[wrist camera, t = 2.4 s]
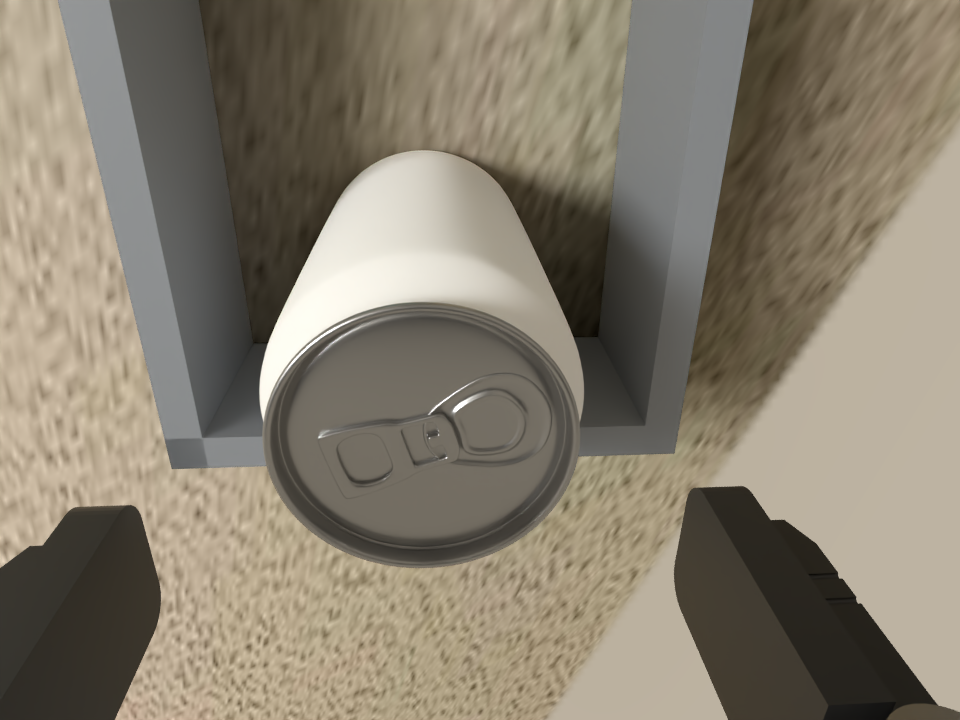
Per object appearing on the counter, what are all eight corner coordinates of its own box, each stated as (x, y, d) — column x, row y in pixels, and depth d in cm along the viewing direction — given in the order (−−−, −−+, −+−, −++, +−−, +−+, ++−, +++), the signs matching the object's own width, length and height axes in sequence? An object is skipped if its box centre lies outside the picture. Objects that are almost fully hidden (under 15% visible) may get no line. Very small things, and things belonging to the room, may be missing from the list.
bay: (144, -99, 18) (21, -150, 12) (676, -86, 19) (775, -128, 13) (228, 369, 24) (172, 468, 19) (621, 360, 25) (674, 453, 20)
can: (540, 305, 24) (631, 538, 13) (367, 353, 24) (319, 618, 13) (494, 121, 21) (564, 228, 10) (298, 179, 21) (166, 341, 11)
